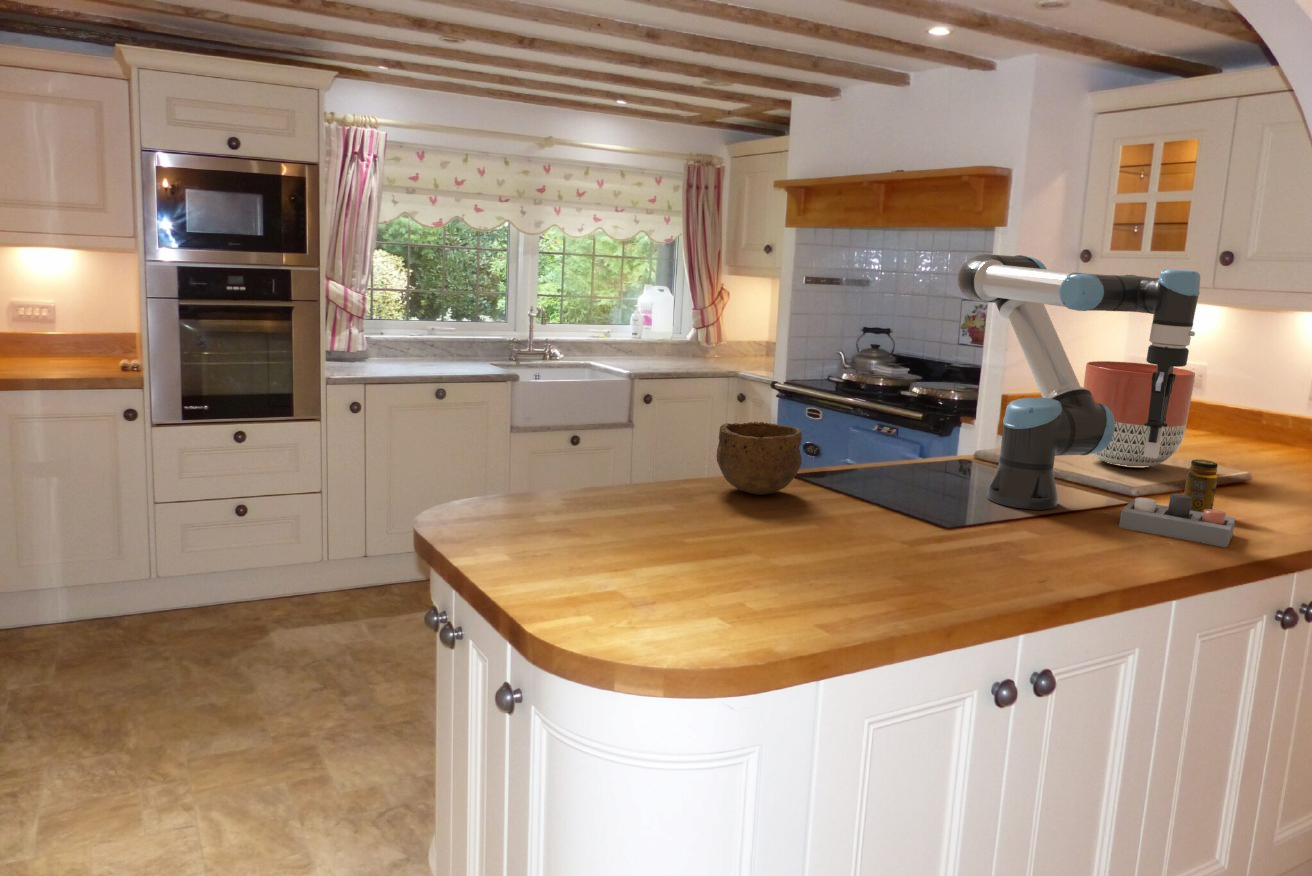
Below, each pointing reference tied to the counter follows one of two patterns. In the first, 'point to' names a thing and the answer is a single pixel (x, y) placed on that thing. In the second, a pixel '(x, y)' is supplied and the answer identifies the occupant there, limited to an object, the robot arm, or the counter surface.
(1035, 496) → the robot arm
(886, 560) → the counter surface
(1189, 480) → the condiment
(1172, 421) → the planter
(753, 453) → the bowl
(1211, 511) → the red button
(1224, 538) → the button board
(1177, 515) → the black button
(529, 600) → the counter surface
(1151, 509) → the white button
